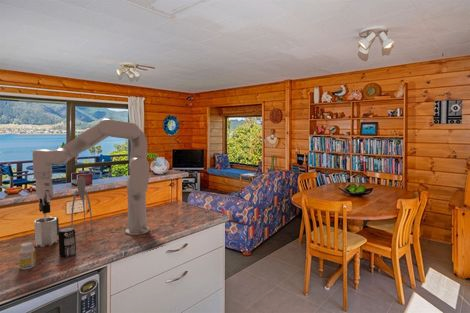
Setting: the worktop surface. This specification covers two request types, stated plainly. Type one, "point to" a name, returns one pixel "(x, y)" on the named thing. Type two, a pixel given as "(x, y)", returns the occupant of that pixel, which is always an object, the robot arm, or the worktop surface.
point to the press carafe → (46, 231)
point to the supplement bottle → (27, 256)
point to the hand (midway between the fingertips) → (44, 211)
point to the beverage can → (67, 242)
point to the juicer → (81, 193)
